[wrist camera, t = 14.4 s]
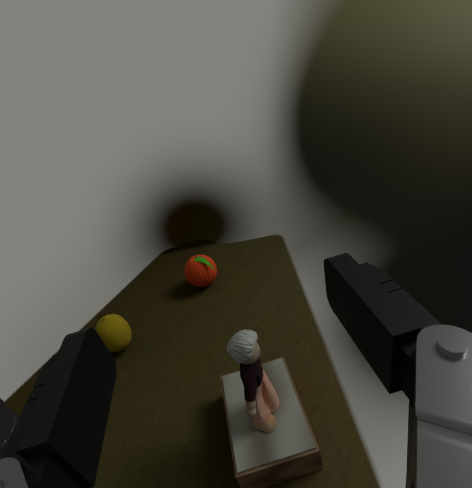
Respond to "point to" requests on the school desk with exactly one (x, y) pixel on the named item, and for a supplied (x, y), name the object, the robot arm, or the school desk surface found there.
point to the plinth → (269, 444)
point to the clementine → (200, 270)
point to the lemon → (114, 332)
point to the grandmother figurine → (254, 380)
